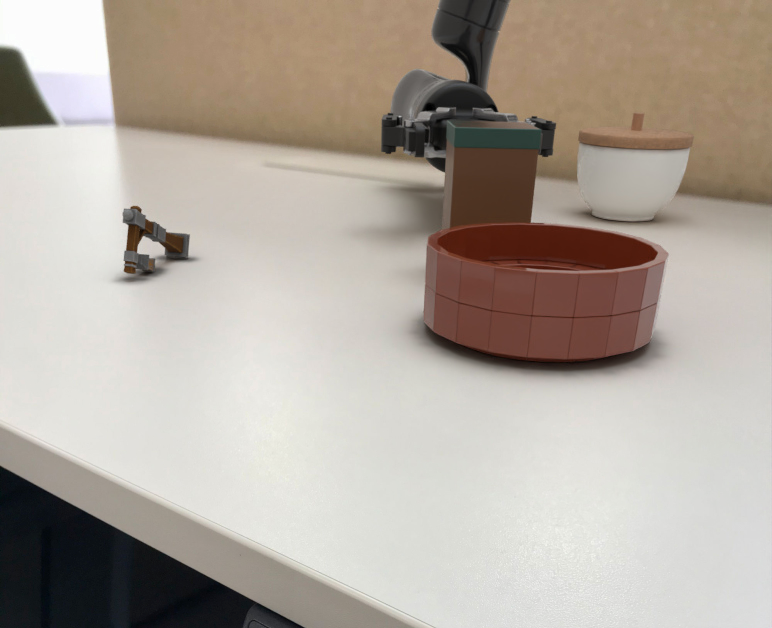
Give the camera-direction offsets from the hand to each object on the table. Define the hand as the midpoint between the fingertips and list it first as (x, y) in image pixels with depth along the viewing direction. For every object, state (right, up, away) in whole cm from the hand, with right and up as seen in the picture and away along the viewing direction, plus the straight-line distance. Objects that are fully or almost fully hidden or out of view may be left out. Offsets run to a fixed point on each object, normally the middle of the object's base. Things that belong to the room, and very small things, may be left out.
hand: (476, 143), depth 63 cm
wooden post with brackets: (-23, -11, -3) cm, 26 cm away
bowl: (+2, -18, -14) cm, 23 cm away
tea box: (0, -11, -3) cm, 11 cm away
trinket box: (+17, +2, +20) cm, 27 cm away
